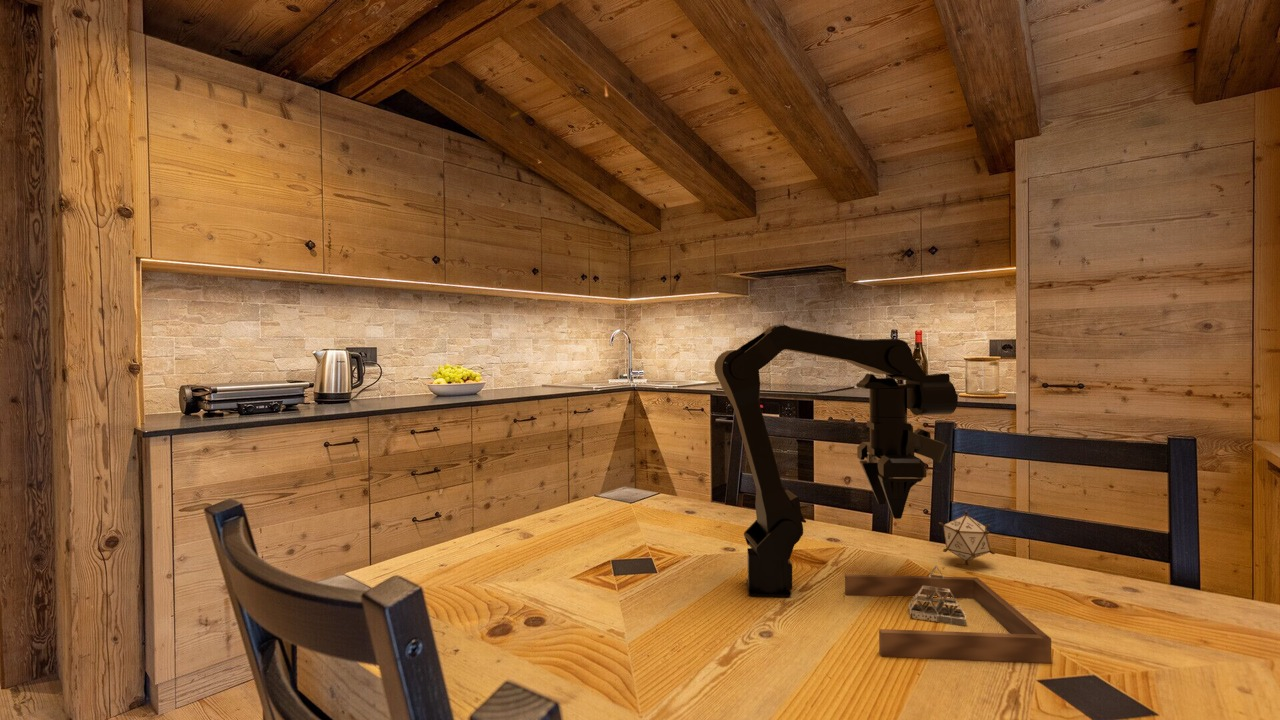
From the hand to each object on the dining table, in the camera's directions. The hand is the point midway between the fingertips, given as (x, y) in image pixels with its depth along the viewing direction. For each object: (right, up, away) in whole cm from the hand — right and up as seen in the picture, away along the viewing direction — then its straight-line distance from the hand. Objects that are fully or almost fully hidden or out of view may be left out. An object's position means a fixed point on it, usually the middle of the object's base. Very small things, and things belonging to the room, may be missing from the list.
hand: (889, 511), depth 103 cm
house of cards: (+3, -13, -11) cm, 17 cm away
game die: (+17, -12, +9) cm, 23 cm away
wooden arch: (0, -12, -15) cm, 19 cm away
